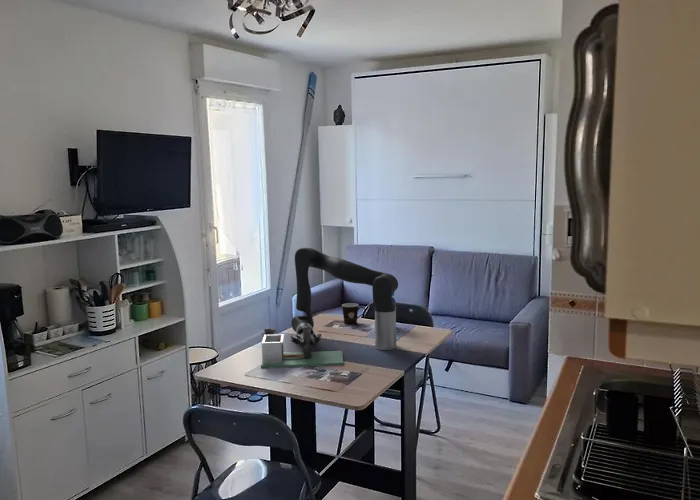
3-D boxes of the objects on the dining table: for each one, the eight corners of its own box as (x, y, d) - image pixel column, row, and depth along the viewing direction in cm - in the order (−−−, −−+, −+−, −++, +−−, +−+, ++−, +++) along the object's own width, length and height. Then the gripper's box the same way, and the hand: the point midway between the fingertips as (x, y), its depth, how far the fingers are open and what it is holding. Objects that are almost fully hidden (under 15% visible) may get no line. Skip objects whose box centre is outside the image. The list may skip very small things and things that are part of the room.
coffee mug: (340, 325, 301) (339, 306, 300) (345, 321, 309) (344, 302, 308) (361, 326, 298) (361, 307, 296) (366, 322, 306) (365, 303, 305)
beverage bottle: (396, 325, 298) (396, 287, 296) (396, 330, 290) (395, 291, 287) (379, 325, 299) (379, 287, 296) (379, 330, 291) (378, 291, 288)
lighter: (260, 349, 262) (260, 328, 261) (265, 347, 265) (264, 326, 264) (275, 352, 259) (274, 330, 257) (280, 350, 261) (279, 328, 260)
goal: (284, 354, 252) (284, 334, 251) (283, 363, 240) (282, 342, 239) (265, 354, 252) (264, 334, 251) (262, 364, 240) (261, 343, 239)
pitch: (341, 353, 256) (341, 350, 256) (343, 365, 240) (343, 362, 240) (264, 355, 254) (264, 353, 254) (261, 368, 238) (260, 365, 238)
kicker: (311, 354, 249) (310, 325, 248) (311, 358, 244) (310, 328, 243) (277, 355, 249) (276, 326, 247) (276, 359, 244) (275, 329, 242)
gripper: (288, 325, 258) (290, 336, 241) (320, 323, 260) (324, 334, 243) (289, 341, 259) (291, 353, 242) (320, 339, 261) (324, 351, 244)
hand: (307, 343), depth 243 cm, fingers closed on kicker, 3 cm apart
